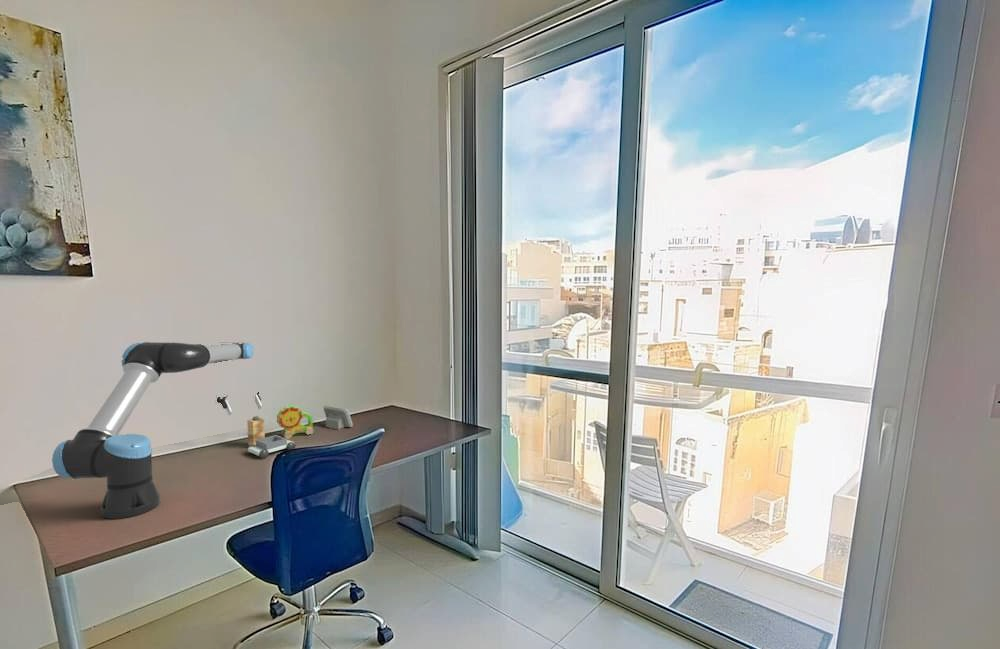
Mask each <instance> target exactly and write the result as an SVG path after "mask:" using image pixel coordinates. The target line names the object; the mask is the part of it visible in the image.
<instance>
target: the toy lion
mask: <svg viewBox="0 0 1000 649" xmlns="http://www.w3.org/2000/svg"><path fill="white" fill-rule="evenodd" d="M303 418H307V420H308V424H307V425H304V424H303V423H301V420H302V419H303ZM276 422H277V424H278V425H279V427H280V428H282V429H283V430H282V431H281V437H282V436H283V438H286V439H287V440H290V439H291V438H293V436H294V435H296V434H298V433H305V434H306V435H308V436H310V435H309V434H311V435H312V434H314V428H313V427H314V426H313V425H314V424H313V418H312V416H311V415H310V414H309V413H307V412H305V411H304V412H303V411H302V409H300V408H299V407H298V406H294V405H288V406H285V407H284V408H282V409H280V410H279V412H278V414H277V415H276Z"/></svg>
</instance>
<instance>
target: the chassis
mask: <svg viewBox="0 0 1000 649" xmlns="http://www.w3.org/2000/svg"><path fill="white" fill-rule="evenodd" d="M292 448H294V449H296V443H295V441H292V440H290V439H286V438H285V437H282V436H279V435H277V434H274V435H271V436H267V437H266V436H265V438H262V439H258V440H256V446H255V445H250V446H248V447H247V448H246V450H247V453H249V454H251V453H252V454H253V455H255V456H258V457H259V458H260V459H263V458H264V459H266V458H268V456H269V454H270V453H273V452H277V451H280V450H284V449H286V450H287V449H292Z"/></svg>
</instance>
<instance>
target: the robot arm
mask: <svg viewBox="0 0 1000 649" xmlns="http://www.w3.org/2000/svg"><path fill="white" fill-rule="evenodd" d="M231 343H232V344H221V345H211V346H204V345H201V344H200V343H196V344H194V343H183V342H150V341H144V342H136V343H131V345H129V346H128V347H127V348H126V349H125V350H124V351H123V354H122V357H121V358H122V360H121V365H122V371H123V373H124V374H123V375H122V377H121V378H120V380H119V381H118V382H117V384H116V385H115V387H114V389H112V391H111V393H110V394H109V396H107V399H106V400H105V401H104V403H103V404H102V405H101V407H100V409H99V410H98V411H97V413H96V414H95V416H94V417H93V419H92V420H91V422H90V424H89V425H88V426H87V427H86V428H82V429H80V430H78V431H77V433H76V434H75V436H74V437H73V439H67V440H65V441H62V442H60V443H59V444H58V445H56V448H54V451H53V453H52V457H51V462H52V468H53V470H54V472H55V473H56V475H58V476H59V477H62V478H67V479H69V478H71V479H73V480H75V479H76V480H77V479H98V478H99V479H102V478H103V479H104V478H105V479H106V491H105V494H104V498H103V502H102V503H101V507H100V513H101V514H100V515H101V516H102V518H104V519H108V520H110V519H111V520H115V519H116V520H117V519H125V518H131V517H134V516H138V515H143V514H145V513H147V512H149V511H151V510H153V509H156V507H158V506H159V505H160V504H161V495H160V493H159V491H158V489H157V486H156V484H155V482H154V481H153V480H154V479H153V478H154V477H153V464H152V463H153V461H152V460H153V458H152V457H153V456H152V452H153V449H152V445H151V440H150V439H149V438H148V436H146V435H143V434H140V433H139V434H138V433H126V434H120V433H121V431H122V429H123V427H124V426H125V425H126V423H127V421H128V419H129V418H130V417H131V415H132V414H133V412H134V410H135V408H136V407H137V405H138V403H139V402H140V400H141V399H142V397H143V395H144V393H146V390H148V387H149V386H150V385H151V384H152V383H156V382H157V381H158V380H159V378H160V376H161V375H162V374H168V373H169V374H173V373H182V372H183V373H184V372H187V371H191V370H195V369H196V370H197V369H201V368H204V367H206V366H207V365H208V364H209V365H210V364H211V365H212V364H214V363H217V362H222V361H228V360H232V361H233V360H234V361H235V360H247V359H248V360H249V359H252V358H253V356H254V351H255V349H254V345H253V344H252V343H251V342H241V343H242V344H239V343H240V342H231ZM258 394H259V392H258V393H257V395H255V400H254V402H255V404H256V406H257V409H258V410H261V408H262V407H263V404H262V399H261V395H260V396H259V395H258ZM227 397H228V395H227V396H226V397H222V398H221V397H218V398H217V397H216V398H217V402H218V403H217V404H220V403H221V404H222V405H221V404H220V405H221V407H222V408H223V409H224V410H225V411H226V412H227V415H228V416H231V414H232V413H233V410H232V408H231V406H230V404H229V401H228V399H227Z"/></svg>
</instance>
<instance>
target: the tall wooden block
mask: <svg viewBox="0 0 1000 649" xmlns="http://www.w3.org/2000/svg"><path fill="white" fill-rule="evenodd" d="M265 435H266V434H265V419H263V418H261V417H259V416H257V415H256V416H253V417H252V418H250V419H247V446H248V447H249V446H250V445H255V446H256V440H258V439H262V438H266V436H265Z"/></svg>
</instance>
